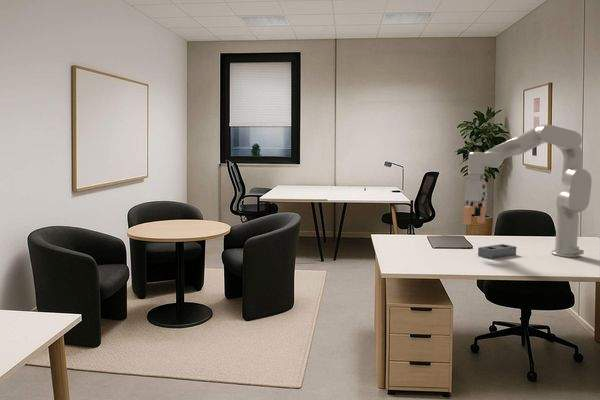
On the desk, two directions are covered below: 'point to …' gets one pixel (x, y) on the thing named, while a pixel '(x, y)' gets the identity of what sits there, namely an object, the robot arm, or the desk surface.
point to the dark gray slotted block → (496, 251)
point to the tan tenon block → (471, 210)
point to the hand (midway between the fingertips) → (474, 215)
